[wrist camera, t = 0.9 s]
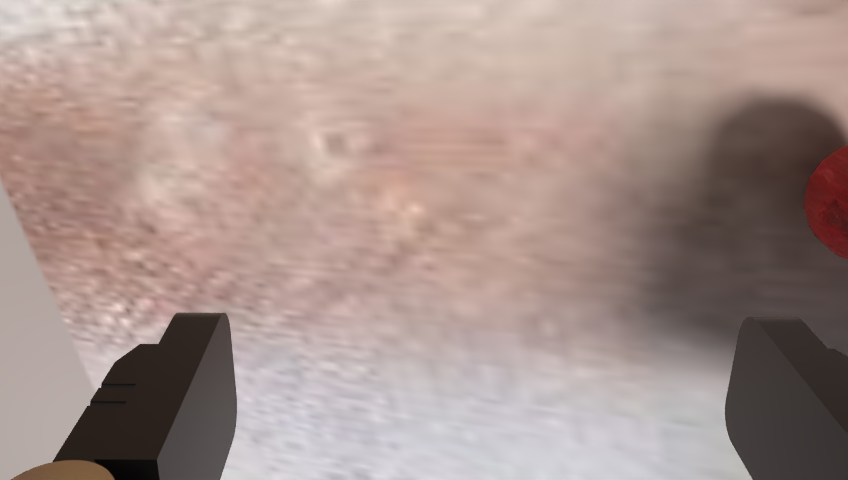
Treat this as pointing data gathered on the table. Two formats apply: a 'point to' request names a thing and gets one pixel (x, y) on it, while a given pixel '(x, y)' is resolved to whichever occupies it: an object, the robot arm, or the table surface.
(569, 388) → the table surface
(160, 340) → the robot arm
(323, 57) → the table surface
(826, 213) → the onion
